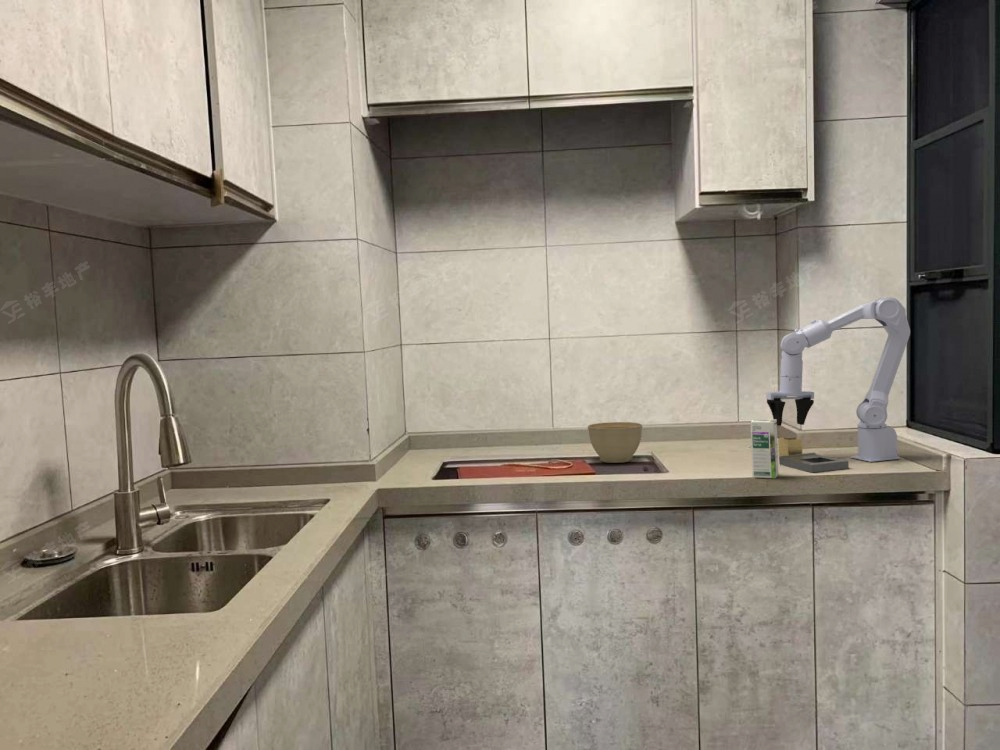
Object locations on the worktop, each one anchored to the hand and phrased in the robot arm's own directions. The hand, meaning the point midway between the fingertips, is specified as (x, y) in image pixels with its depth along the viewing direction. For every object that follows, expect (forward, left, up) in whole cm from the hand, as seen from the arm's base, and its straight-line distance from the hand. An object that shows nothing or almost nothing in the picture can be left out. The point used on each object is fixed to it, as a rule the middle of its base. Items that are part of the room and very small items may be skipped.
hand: (789, 424), depth 216 cm
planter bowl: (+42, -25, -10) cm, 50 cm away
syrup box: (+19, +17, -10) cm, 27 cm away
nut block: (0, 0, -10) cm, 10 cm away
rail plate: (+1, +12, -10) cm, 15 cm away
